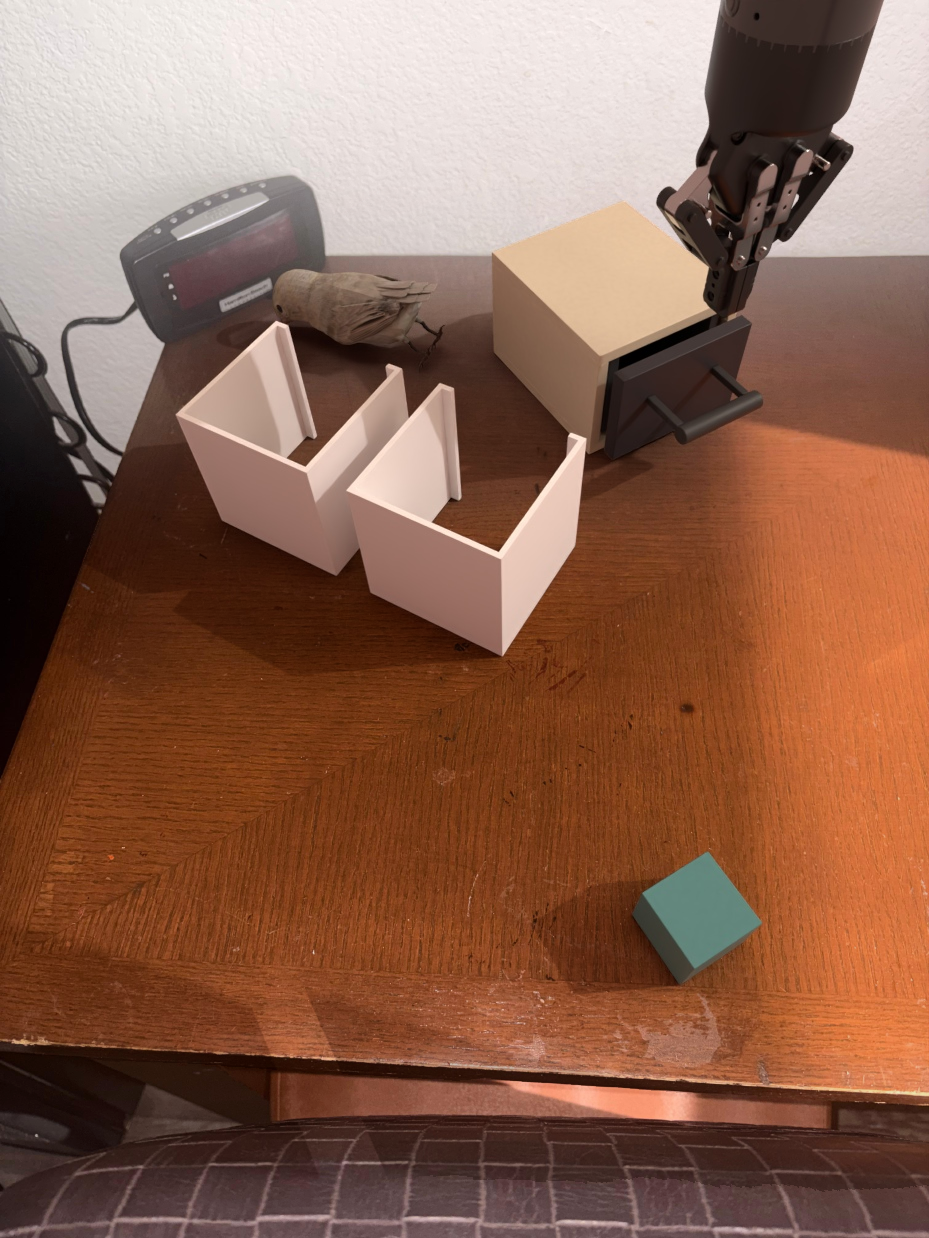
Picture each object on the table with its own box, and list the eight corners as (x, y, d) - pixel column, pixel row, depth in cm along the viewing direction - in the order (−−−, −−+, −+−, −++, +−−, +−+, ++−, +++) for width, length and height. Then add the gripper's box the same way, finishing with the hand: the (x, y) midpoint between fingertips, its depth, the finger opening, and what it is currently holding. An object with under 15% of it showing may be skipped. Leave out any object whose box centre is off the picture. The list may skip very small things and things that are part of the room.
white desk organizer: (221, 520, 66) (175, 414, 56) (306, 431, 71) (276, 320, 61) (502, 656, 58) (501, 559, 49) (575, 545, 63) (586, 438, 54)
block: (693, 874, 49) (707, 850, 46) (743, 942, 47) (762, 923, 43) (631, 914, 48) (641, 892, 44) (679, 985, 46) (694, 969, 42)
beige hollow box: (715, 395, 71) (742, 293, 63) (588, 455, 68) (599, 356, 60) (611, 302, 78) (624, 200, 70) (493, 352, 75) (491, 251, 67)
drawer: (770, 441, 66) (799, 360, 60) (650, 501, 64) (666, 423, 57) (629, 315, 76) (641, 233, 69) (519, 362, 73) (520, 282, 66)
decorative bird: (295, 306, 80) (277, 233, 74) (453, 342, 76) (448, 268, 70) (268, 342, 77) (247, 269, 71) (429, 381, 73) (422, 308, 67)
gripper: (743, 72, 38) (678, 377, 52) (958, -6, 41) (841, 303, 55) (642, 11, 41) (607, 312, 56) (846, -56, 44) (763, 246, 59)
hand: (723, 307), depth 56 cm, fingers closed
